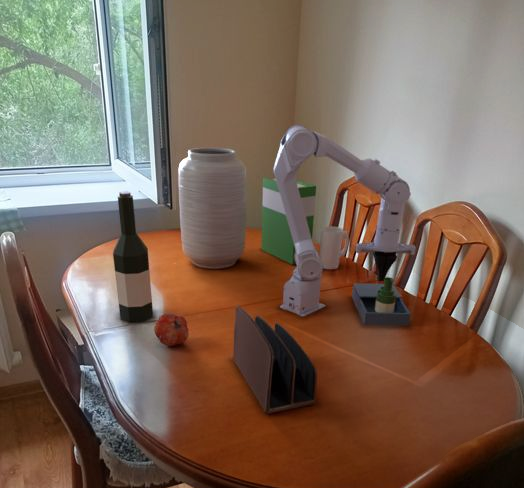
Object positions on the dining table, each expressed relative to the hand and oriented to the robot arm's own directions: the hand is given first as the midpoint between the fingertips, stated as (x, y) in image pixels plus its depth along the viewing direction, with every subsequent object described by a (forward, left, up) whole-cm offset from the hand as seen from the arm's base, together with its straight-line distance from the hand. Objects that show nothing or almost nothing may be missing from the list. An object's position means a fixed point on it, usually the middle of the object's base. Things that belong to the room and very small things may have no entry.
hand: (380, 279), depth 127 cm
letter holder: (-46, -5, -8) cm, 47 cm away
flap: (+1, +1, -4) cm, 4 cm away
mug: (+17, +27, -8) cm, 33 cm away
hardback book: (+13, +44, -8) cm, 47 cm away
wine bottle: (-49, +38, -8) cm, 63 cm away
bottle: (-5, -5, -8) cm, 10 cm away
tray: (-2, -2, -8) cm, 8 cm away
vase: (-9, +55, -8) cm, 57 cm away
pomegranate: (-51, +21, -8) cm, 56 cm away
